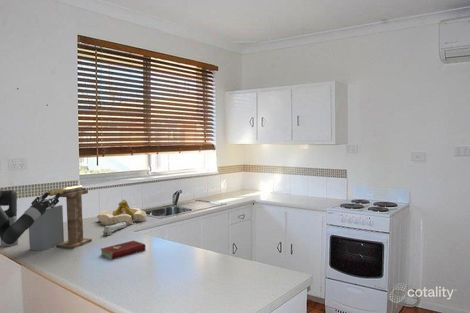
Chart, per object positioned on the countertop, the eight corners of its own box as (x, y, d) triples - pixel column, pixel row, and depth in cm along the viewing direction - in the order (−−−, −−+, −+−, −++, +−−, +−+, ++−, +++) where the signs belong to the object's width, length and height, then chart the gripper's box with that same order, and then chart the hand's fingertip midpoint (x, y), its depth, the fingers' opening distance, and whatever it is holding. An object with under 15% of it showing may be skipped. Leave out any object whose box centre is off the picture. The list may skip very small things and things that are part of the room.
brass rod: (53, 194, 214) (51, 189, 214) (49, 196, 215) (47, 191, 215) (83, 188, 237) (81, 184, 237) (79, 190, 238) (77, 186, 238)
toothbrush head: (127, 221, 273) (108, 225, 249) (127, 231, 273) (108, 235, 248) (121, 221, 274) (101, 225, 250) (120, 231, 274) (100, 235, 250)
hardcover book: (145, 250, 218) (145, 243, 217) (111, 260, 202) (111, 252, 202) (133, 246, 226) (133, 239, 225) (100, 255, 210) (100, 248, 210)
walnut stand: (73, 248, 222) (70, 191, 221) (56, 247, 226) (54, 191, 224) (91, 241, 238) (89, 188, 236) (76, 239, 241) (73, 187, 240)
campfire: (119, 228, 270) (119, 204, 269) (88, 223, 287) (87, 201, 286) (154, 219, 299) (154, 197, 298) (124, 214, 317) (123, 194, 316)
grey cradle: (43, 250, 219) (41, 210, 218) (29, 249, 223) (27, 209, 221) (64, 243, 234) (62, 205, 233) (51, 242, 238) (49, 204, 236)
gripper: (41, 208, 199) (61, 188, 212) (20, 206, 204) (40, 188, 216) (47, 219, 203) (66, 199, 216) (27, 217, 208) (46, 198, 220)
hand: (53, 193), depth 216 cm, fingers open, 8 cm apart
